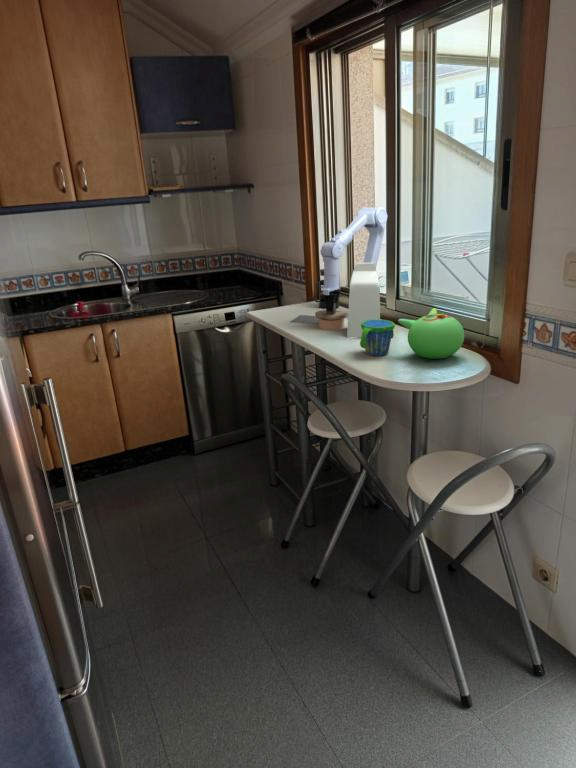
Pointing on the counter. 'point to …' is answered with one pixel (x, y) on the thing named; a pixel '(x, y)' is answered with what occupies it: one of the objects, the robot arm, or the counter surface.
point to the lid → (330, 314)
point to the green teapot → (434, 335)
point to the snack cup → (377, 336)
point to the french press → (322, 301)
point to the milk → (363, 298)
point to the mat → (306, 319)
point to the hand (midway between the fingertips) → (331, 310)
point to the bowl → (331, 324)
